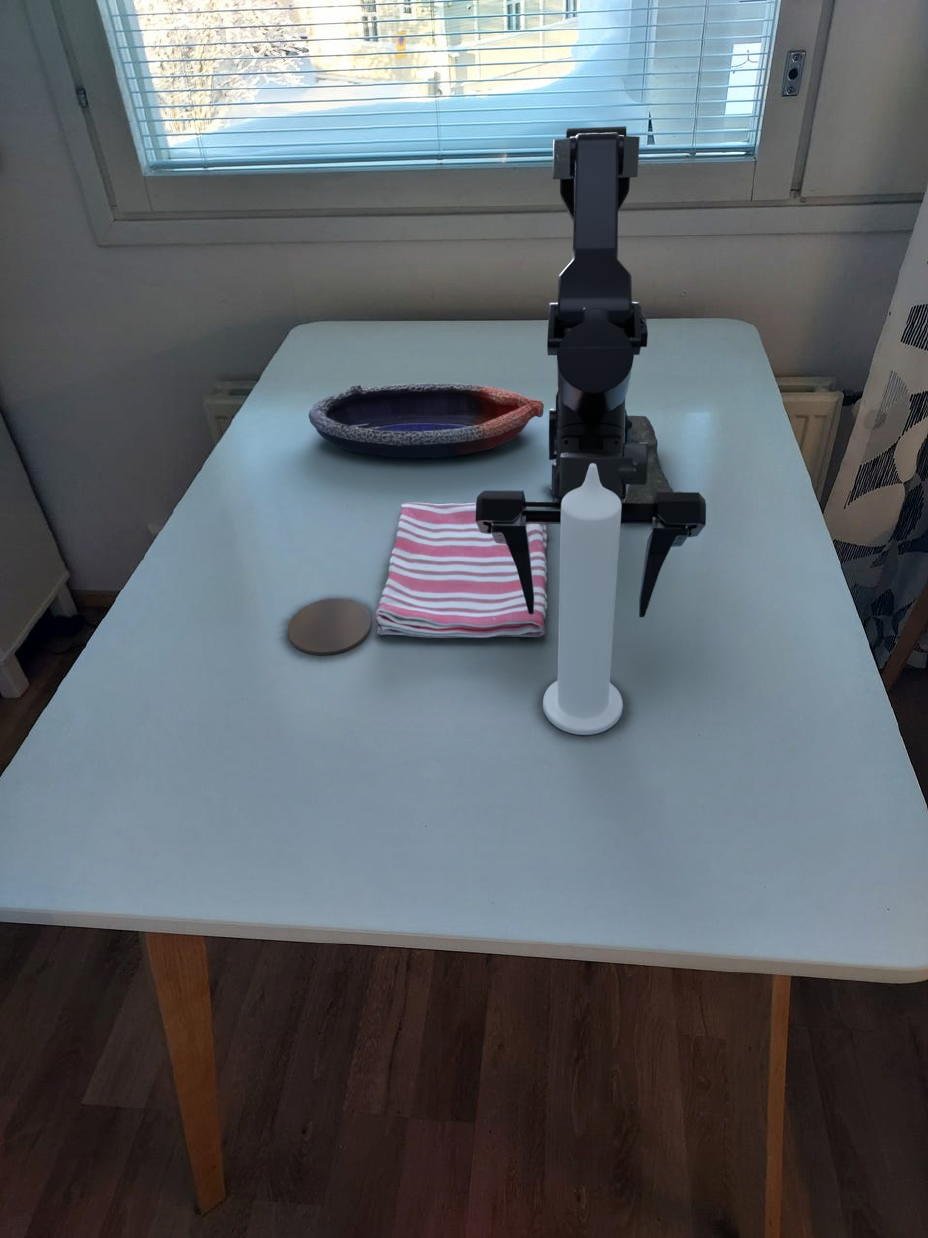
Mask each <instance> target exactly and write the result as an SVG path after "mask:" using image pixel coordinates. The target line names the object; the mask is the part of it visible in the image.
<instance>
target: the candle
mask: <svg viewBox="0 0 928 1238" xmlns="http://www.w3.org/2000/svg"><path fill="white" fill-rule="evenodd" d="M621 508H622V505H621V501H620V499H619V497H618V496H617V495H616V494H615V493H613V492H612V491H610V490H608V489H606V488H604V487H602V485H601V483H600V480H599V475H598V470H597V466H596V464H594V463H591V464H590V465H589V468H588V472H587V475H586V478H585V481H584V483H583V485H582V486H581V487H579V488H577V489H574V490H572V491H570V492H569V493H567V494H566V495H565V496H564V498H563V499H562V502H561V524H560V539H559V540H560V543H559V545H560V547H559V589H558V590H559V595H558V596H559V597H558V598H559V599H558V644H557V645H558V647H557V648H558V649H557V650H558V651H557V652H558V653H557V654H558V655H557V679H556V680H555V681H554V682H553V683H551V684H550V685H549V686H548V687H547V689H546V690H545V692H544V695H543V699H542V708H543V712H544V715H545V717H546V718H547V720H548V721H549V722H550V723H551V724H552V725H553V726H554V727H556V729H557V728H558V729H559V730H561V731H563V732H566V733H569V734H571V735H572V734H573V735H578V736H579V735H580V736H592V735H597V734H600V733H603V732H605V731H607V730H609V729H611V728H612V727H613V726H615V725H616V724H617V723H618V722H619V720H620V718H621V716H622V714H623V708H624V703H623V697H622V695H621V693H620V691H619V689H617V687H616V686H615V685H613V684H612V683H611V671H612V670H611V668H612V655H613V654H612V653H613V640H614V637H613V636H614V624H615V609H616V608H615V607H616V596H617V595H616V593H617V579H618V566H619V565H618V564H619V552H620V551H619V549H620V536H621V525H620V523H621Z"/></svg>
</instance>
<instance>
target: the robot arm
mask: <svg viewBox="0 0 928 1238" xmlns="http://www.w3.org/2000/svg"><path fill="white" fill-rule="evenodd" d="M640 138H641V137H640V136H637V135H636V136H635V135H634V136H633V135H627V126H602V127H601V126H597V127H596V126H593V127H570V128H569V127H568V128H566V131H565V137H562V138H555V139H553V143H552V144H553V145H552V147H553V148H552V155H553V156H552V180H559V192H560V193H559V194H560V200H561V202H562V204H563V206H564V207H565V210H566V211H567V214H568V216H569V217H570V219H571V221H572V223H573V225H572V226H573V229H572V230H573V231H572V232H573V233H572V260H571V261H570V262H569V263H568V265H567V266H566V267H565V268H564V269H563V270H562V271H561V273H560V274H559V275H558V282H557V283H558V285H557V302H550V303H549V307H548V322H547V323H548V324H547V341H546V342H547V343H546V350H547V351H546V352H547V356H556V373H557V374H556V375H557V377H556V378H557V391H556V395H555V407H553V408H549V409H548V410H549V413H548V460H549V461H554V460H555V462H554V463H552V465H551V484H550V485H549V486H548V490H549V492H550V493H551V495H552V496H553V498H554V501H543V502H538V501H526V495H525V490H523V489H522V490H521V489H520V490H519V489H517V490H516V489H515V490H513V489H483V490H482V491H481V492H480V493H479V494H478V495H477V497H476V501H475V503H476V520H475V521H476V523H477V525H478V528H479V530H480V532H481V533H485V534H492V536H493V538H494V540H495V542H496V543H499V544H506V545H507V546H508V548H509V551H510V553H511V556H512V558H513V560H514V563H515V565H516V568H517V572H518V575H519V579H520V583H521V587H522V590H523V594H524V598H525V601H526V605H527V609H528V613H529V614H530V615H533V614H534V589H533V579H532V569H531V558H530V548H529V538H528V534H527V530H526V528H527V524H546V525H561V502H562V499H563V498H564V496H565V495H566V494H567V493H569V492H570V491H572V490H574V489H577V488H579V487H581V486H582V485H583V483H584V481H585V478H586V475H587V472H588V468H589V465H590V464H591V463H594V464H596V466H597V470H598V475H599V480H600V483H601V485H602V487H604V488H606V489H608V490H610V491H612V492H613V493H615V494H616V495H617V496H618V497H619V499H620V501H621V505H622V508H621V523H620V526H641V527H642V526H645V527H646V526H648V527H650V531H651V532H650V534H649V536H648V539H647V540H646V545H645V553H644V561H643V569H642V576H641V583H640V589H639V590H640V591H639V597H638V617H639V618H645V617H646V614H647V611H648V607H649V604H650V602H651V598H652V595H653V593H654V589H655V587H656V584H657V581H658V577H659V574H660V572H661V570H662V567H663V565H664V563H665V560H666V559H667V556H668V554H669V552H670V551H671V548H678V547H682V546H683V545H684V543H685V542H686V541H687V539H688V538H695V537H698V536H699V535H700V534H701V532H702V531H703V529H704V528H705V527H706V524H707V503H706V499H705V498H704V497H703V496H702V494H701V493H700V492H697V491H696V492H695V491H693V492H692V491H691V492H690V491H673V492H657V493H656V496H655V498H654V500H653V503H624V500H625V499H626V496H627V485H629V486H630V485H645V484H646V483H647V470H648V443H646V442H630V436H631V430H632V422H631V420H630V419H629V418H628V416H629V414H628V413H627V408H626V396H627V394H628V390H629V384H630V381H631V374H632V370H633V365H634V358H635V356H639V355H640V354H641V349H642V348H648V338H649V331H648V325H647V318H646V315H645V314H644V313H643V311H642V310H641V309H642V307H641V305H640V301H633V291H632V290H633V289H632V287H633V286H632V284H633V283H632V274H631V273H630V271H629V270H628V269H627V268H626V267H625V266H624V264H623V263H622V262H621V261H620V260H619V251H618V249H619V248H618V247H619V237H618V236H619V212H620V210H621V208H622V206H623V205H624V203H625V201H626V199H627V198H628V195H629V192H630V184H631V183H630V182H631V178H638V177H639V176H638V175H639V159H640Z"/></svg>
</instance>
